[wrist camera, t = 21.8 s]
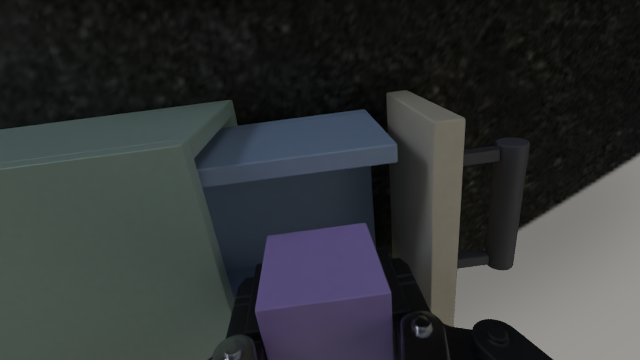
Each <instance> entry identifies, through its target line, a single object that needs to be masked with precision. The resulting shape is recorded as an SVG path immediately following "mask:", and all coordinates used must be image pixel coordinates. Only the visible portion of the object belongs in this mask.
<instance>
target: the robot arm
mask: <svg viewBox="0 0 640 360" xmlns="http://www.w3.org/2000/svg"><path fill="white" fill-rule="evenodd" d="M375 249H376V252H377V254H378V257H379V260H380V263H381V266H382V268H383V271H384V274H385V277H386V279H387V282H388V285H389V288H390V290H391V297H392V320H393V344H394V360H553V359H552V358H550V357H549V356H548V355H546V354H545V353H544V352H543V351H542V350H540V349H539V348H538V347H537V346H535V345H534V344H533V343H532V342H530V341H529V340H528V339H526V338H525V337H524V336H523V335H522V334H520V333H519V332H518V331H517V330H515V329H514V328H513V327H511V326H510V325H508V324H506V323H504V322H501V321H498V320H492V319H486V320H481V321H479V322H477V323H476V324H475V325H474V327H473V330H469V329H463V328H455V327H452V326H448V325H446V324H444V323H442V321H441V320H440V319H439V318H438V317H437V316H436V315H434V314H432V313H431V311H430V309H429V307H428V305H427V303H426V301H425V299H424V296H423V294H422V292H421V290H420V288H419V286H418V284H417V283H416V280H415V278H414V276H413V274H412V271H411V269H410V267H409V265H408V264H407V263H406V262H404V261H403V260H402V259H401V258H392V259H390V258H389V256H388V253H387V251H386V248H385V247H381V248H375ZM262 264H263V263H260V264H257V265H256V270H255V275H254V277H249V278H245V279H244V280H243V282H242V283H241V284H240V286H239V287H238V290H237V294H236V299H235V302H234V308H233V310H232V314H231V318H230V323H229V327H228V331H227V335H226V339H225V340H223V341H222V342H221V343H220V344H219V345H218V346H217V347H216V348H215V350H214V352H213V355H212V357H211V358H209V359H207V360H267V356H266V352H265V348H264V344H263V341H262V337H261V333H260V329H259V325H258V322H257V318H256V314H255V307H256V301H257V295H258V288H259V282H260V276H261V270H262Z"/></svg>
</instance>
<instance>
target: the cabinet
mask: <svg viewBox="0 0 640 360" xmlns="http://www.w3.org/2000/svg"><path fill="white" fill-rule="evenodd" d="M232 126H238V125H237V120H236V116H235V111H234V107H233V102H232V100H225V101H217V102H210V103H202V104H194V105H187V106H179V107H171V108H163V109H156V110H148V111H140V112H133V113H125V114H117V115H110V116H102V117H94V118H86V119H79V120H71V121H63V122H56V123H48V124H40V125H32V126H25V127H17V128H9V129H2V130H0V360H207V359H209V358H211V357H212V355H213V352H214V350H215V348H216V347H217V346H218V345H219V344H220V343H221V342H222V341H223V340H225V339H226V335H227V331H228V327H229V323H230V318H231V314H232V310H233V308H234V302H235V301H234V297H233V294H232V290H231V287H230V283H229V280H228V276H227V273H226V269H225V266H224V262H223V259H222V255H221V252H220V248H219V245H218V241H217V238H216V234H215V231H214V227H213V224H212V220H211V217H210V213H209V210H208V206H207V203H206V199H205V196H204V192H203V189H202V185H201V182H200V178H199V175H198V171H197V168H196V164H195V161H194V158H195V157H196V156H197V155H198V154H199V152H200V151H201V150H202V149H203V148H204V147H205V146H206V144H207V143H208V142H209V141H210V140H211V139H212V138H213V137H214V135H215V134H216V133H217V132H218V131H219V130H220V129H221V128H224V127H232Z"/></svg>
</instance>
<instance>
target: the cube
mask: <svg viewBox="0 0 640 360" xmlns="http://www.w3.org/2000/svg"><path fill="white" fill-rule="evenodd" d="M255 314H256V318H257V322H258V325H259V329H260V333H261V337H262V341H263V344H264V348H265V352H266V356H267V360H394V344H393V320H392V297H391V290H390V288H389V285H388V282H387V279H386V277H385V274H384V271H383V268H382V266H381V263H380V260H379V257H378V254H377V252H376V249H375V246H374V243H373V241H372V238H371V235H370V232H369V230H368V227H367V224H366V223H359V224H352V225H344V226H337V227H329V228H322V229H314V230H307V231H299V232H292V233H284V234H277V235H269V236H267V240H266V246H265V252H264V258H263V264H262V270H261V276H260V282H259V288H258V295H257V301H256V307H255Z"/></svg>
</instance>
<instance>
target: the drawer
mask: <svg viewBox="0 0 640 360" xmlns="http://www.w3.org/2000/svg"><path fill="white" fill-rule="evenodd" d="M386 95H387V122H388V134H387V133H386V132H385V130H384V129H383V128H382V127H381V126H380V125H379V124H378V123H377V122H376V121H375V120H374V119H373V118H372V117H371V115H370V114H369V113H368V112H367V111H366V110H365V109H362V110H355V111H347V112H339V113H332V114H324V115H316V116H309V117H301V118H293V119H286V120H278V121H270V122H263V123H255V124H247V125H240V126H232V127H224V128H221V129H220V130H219V131H218V132H217V133H216V134H215V135H214V137H213V138H212V139H211V140H210V141H209V142H208V143H207V144H206V146H205V147H204V148H203V149H202V150H201V151H200V152H199V154H198V155H197V156H196V157H195V158H194V161H195V164H196V168H197V171H198V175H199V178H200V182H201V185H202V189H203V192H204V196H205V199H206V203H207V206H208V210H209V213H210V217H211V220H212V224H213V227H214V231H215V234H216V238H217V241H218V245H219V248H220V252H221V255H222V259H223V262H224V266H225V269H226V273H227V276H228V280H229V283H230V287H231V290H232V294H233V297H234V301H235V299H236V294H237V290H238V287H239V286H240V284H241V283H242V282H243V280H244V279H245V278H249V277H254V275H255V270H256V265H257V264H260V263H263V258H264V252H265V246H266V240H267V236H269V235H277V234H284V233H292V232H299V231H307V230H314V229H322V228H329V227H337V226H344V225H352V224H359V223H366V224H367V227H368V230H369V232H370V235H371V238H372V241H373V243H374V246H375V248H376V242H375V225H374V209H373V192H372V176H371V166H374V165H381V164H389V175H390V202H391V229H392V255H393V258H401V259H402V260H403V261H404V262H406V263H407V264H408V265H409V267H410V269H411V271H412V274H413V276H414V278H415V280H416V283H417V284H418V286H419V288H420V290H421V292H422V294H423V296H424V299H425V301H426V303H427V305H428V307H429V309H430V311H431V313H432V314H434V315H436V316H437V317H438V318H439V319H440V320H441V321H442V323H444V324H446V325H448V326H452V327H454V311H455V293H456V276H457V268H464V267H471V266H479V265H486V264H487V265H488V266H489V267H491V268H494V269H497V270H508V269H510V268H511V267H512V266H513V261H514V254H515V247H516V239H517V232H518V225H519V218H520V211H521V204H522V196H523V189H524V182H525V175H526V168H527V161H528V153H529V146H530V143H529V141H527V140H525V139H521V138H502V139H498V140H497V141H496V143H495V146H490V147H482V148H474V149H467V150H464V136H465V118H463V117H461V116H459V115H457V114H455V113H453V112H451V111H449V110H447V109H445V108H443V107H440V106H438V105H436V104H434V103H432V102H430V101H428V100H426V99H424V98H422V97H420V96H417V95H415V94H413V93H411V92H409V91H407V90H404V91H396V92H389V93H387V94H386ZM488 162H494V164H493V174H492V184H491V195H490V205H489V216H488V226H487V236H486V247H485V250H478V251H471V252H463V253H458V241H459V224H460V206H461V189H462V171H463V166H466V165H473V164H481V163H488Z"/></svg>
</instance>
